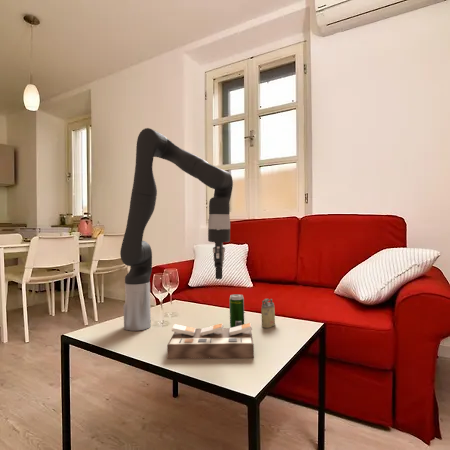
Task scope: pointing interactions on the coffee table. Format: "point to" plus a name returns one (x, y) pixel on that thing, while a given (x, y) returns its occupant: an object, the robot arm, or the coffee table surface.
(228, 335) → the switch console
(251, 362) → the coffee table surface
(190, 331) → the rocker left
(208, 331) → the rocker middle
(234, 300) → the beer can
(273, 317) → the lighter
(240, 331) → the rocker right
